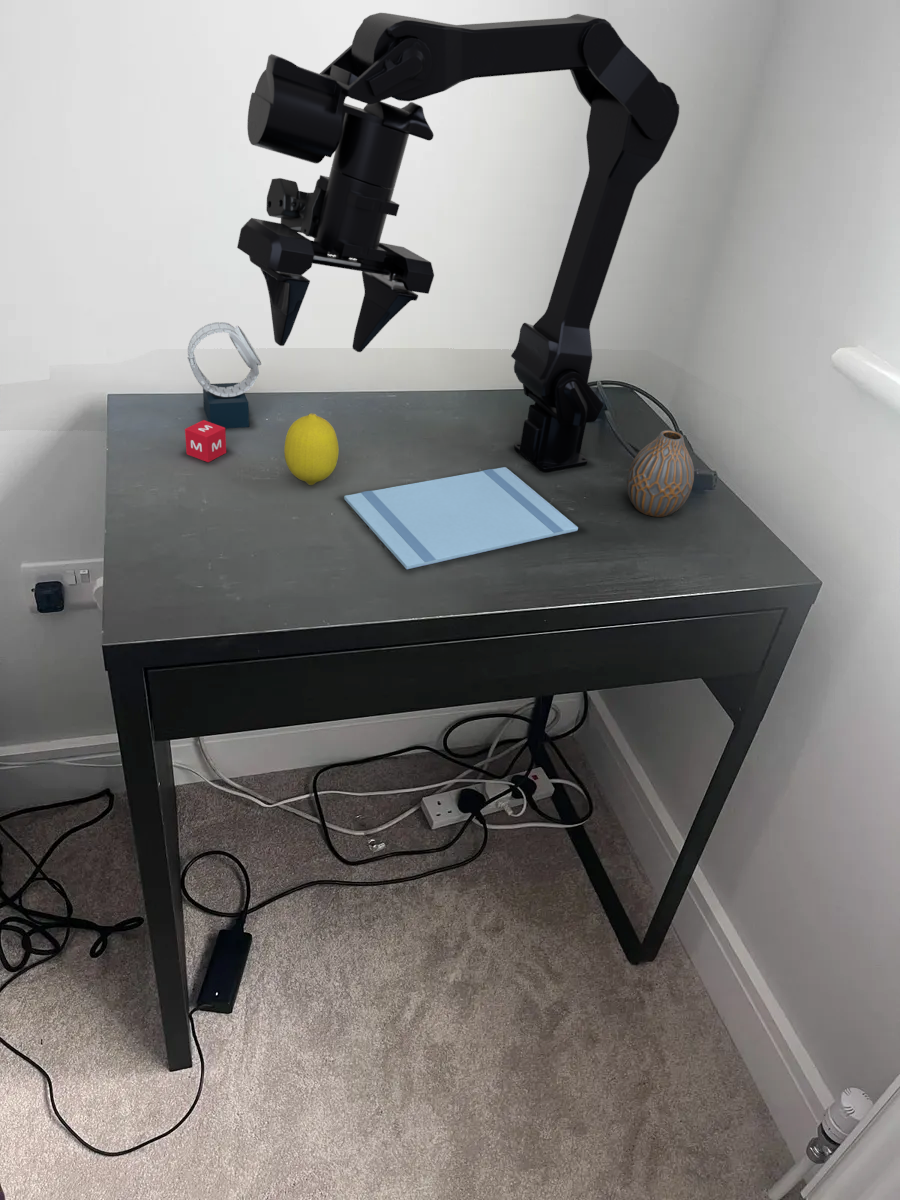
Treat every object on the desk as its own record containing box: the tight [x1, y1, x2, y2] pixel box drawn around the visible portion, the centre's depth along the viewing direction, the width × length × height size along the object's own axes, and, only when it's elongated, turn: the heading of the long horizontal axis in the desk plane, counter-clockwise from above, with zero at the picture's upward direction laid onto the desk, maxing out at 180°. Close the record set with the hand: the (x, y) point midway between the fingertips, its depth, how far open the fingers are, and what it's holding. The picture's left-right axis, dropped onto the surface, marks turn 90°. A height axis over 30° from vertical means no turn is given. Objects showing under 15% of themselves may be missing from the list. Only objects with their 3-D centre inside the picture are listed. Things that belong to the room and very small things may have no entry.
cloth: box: [343, 466, 579, 570], centre depth 95 cm, size 20×14×1 cm
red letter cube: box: [184, 419, 227, 463], centre depth 99 cm, size 3×3×3 cm
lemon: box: [283, 413, 340, 486], centre depth 94 cm, size 6×6×8 cm
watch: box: [187, 321, 262, 429], centre depth 104 cm, size 6×8×11 cm
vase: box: [626, 429, 695, 518], centre depth 98 cm, size 7×7×9 cm
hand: (319, 347), depth 88 cm, fingers open, 9 cm apart
